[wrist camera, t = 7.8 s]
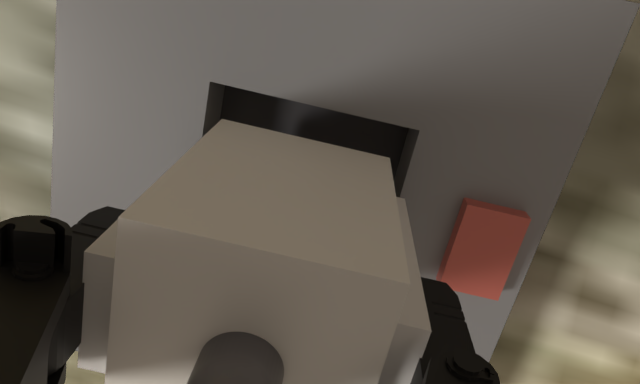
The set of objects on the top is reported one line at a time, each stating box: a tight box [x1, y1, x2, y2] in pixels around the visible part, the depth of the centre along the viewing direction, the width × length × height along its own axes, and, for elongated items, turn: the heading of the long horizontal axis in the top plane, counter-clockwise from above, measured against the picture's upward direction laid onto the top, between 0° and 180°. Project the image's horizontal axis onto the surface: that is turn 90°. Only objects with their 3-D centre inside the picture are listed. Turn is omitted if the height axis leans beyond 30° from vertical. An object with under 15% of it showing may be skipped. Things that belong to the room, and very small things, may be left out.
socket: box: [51, 0, 640, 362], centre depth 18 cm, size 16×16×3 cm
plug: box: [105, 119, 410, 384], centre depth 13 cm, size 5×5×11 cm
